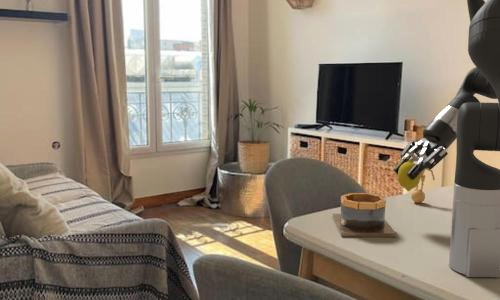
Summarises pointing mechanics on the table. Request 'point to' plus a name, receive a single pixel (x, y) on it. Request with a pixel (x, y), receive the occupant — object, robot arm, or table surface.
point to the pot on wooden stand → (363, 216)
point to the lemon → (403, 177)
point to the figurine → (419, 195)
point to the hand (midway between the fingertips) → (403, 175)
